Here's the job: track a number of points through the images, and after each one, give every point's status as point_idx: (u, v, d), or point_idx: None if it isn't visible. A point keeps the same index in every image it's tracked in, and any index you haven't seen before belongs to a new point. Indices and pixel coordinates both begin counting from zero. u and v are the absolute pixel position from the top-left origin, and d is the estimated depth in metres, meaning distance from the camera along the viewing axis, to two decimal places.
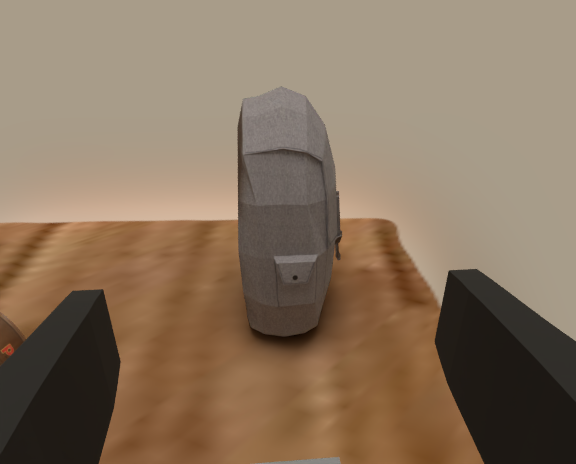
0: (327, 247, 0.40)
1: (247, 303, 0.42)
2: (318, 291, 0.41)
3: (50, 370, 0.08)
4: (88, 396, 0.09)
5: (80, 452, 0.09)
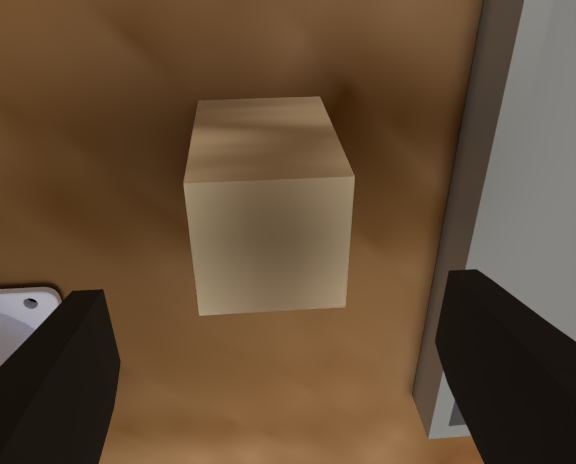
0: None
1: None
2: None
3: (50, 370, 0.08)
4: (88, 396, 0.09)
5: (80, 452, 0.09)
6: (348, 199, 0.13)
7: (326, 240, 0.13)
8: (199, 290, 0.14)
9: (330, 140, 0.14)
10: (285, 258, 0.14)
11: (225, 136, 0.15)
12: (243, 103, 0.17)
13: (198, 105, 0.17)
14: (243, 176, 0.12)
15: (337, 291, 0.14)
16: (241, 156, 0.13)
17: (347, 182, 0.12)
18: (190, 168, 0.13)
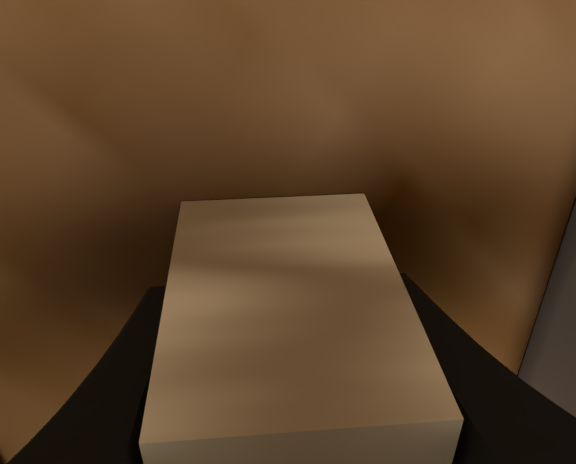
0: None
1: None
2: None
3: None
4: None
5: None
6: (446, 451, 0.07)
7: None
8: None
9: (398, 305, 0.08)
10: None
11: (221, 293, 0.09)
12: (249, 209, 0.11)
13: (180, 214, 0.11)
14: (254, 416, 0.07)
15: None
16: (248, 352, 0.08)
17: (448, 427, 0.07)
18: (155, 391, 0.07)
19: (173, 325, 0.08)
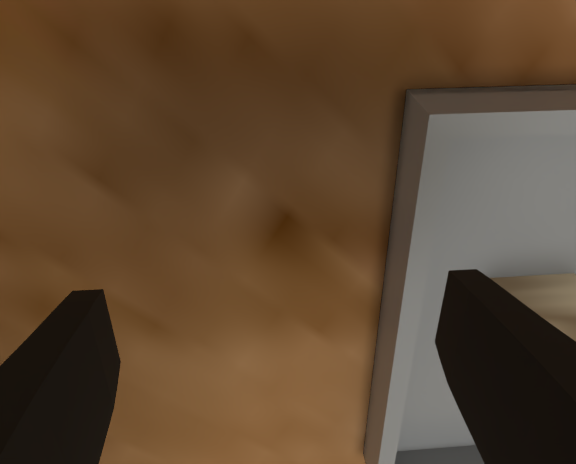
0: None
1: None
2: None
3: (50, 370, 0.08)
4: (88, 396, 0.09)
5: (80, 452, 0.09)
6: None
7: None
8: None
9: None
10: None
11: None
12: (521, 283, 0.22)
13: None
14: None
15: None
16: None
17: None
18: None
19: None
